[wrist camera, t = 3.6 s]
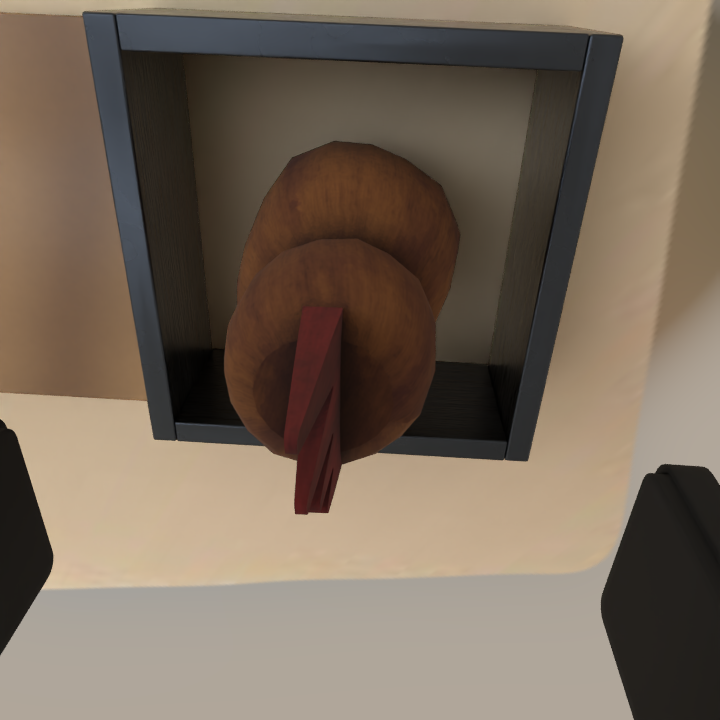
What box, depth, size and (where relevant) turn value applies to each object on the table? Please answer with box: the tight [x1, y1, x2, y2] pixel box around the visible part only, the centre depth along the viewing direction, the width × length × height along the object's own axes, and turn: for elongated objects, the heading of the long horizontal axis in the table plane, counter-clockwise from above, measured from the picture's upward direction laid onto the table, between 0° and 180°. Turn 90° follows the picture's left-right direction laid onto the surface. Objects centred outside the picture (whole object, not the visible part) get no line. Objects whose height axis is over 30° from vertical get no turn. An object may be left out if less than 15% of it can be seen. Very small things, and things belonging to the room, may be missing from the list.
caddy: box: [82, 8, 623, 461], centre depth 20 cm, size 13×13×5 cm
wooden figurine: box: [224, 141, 460, 515], centre depth 15 cm, size 7×6×15 cm
